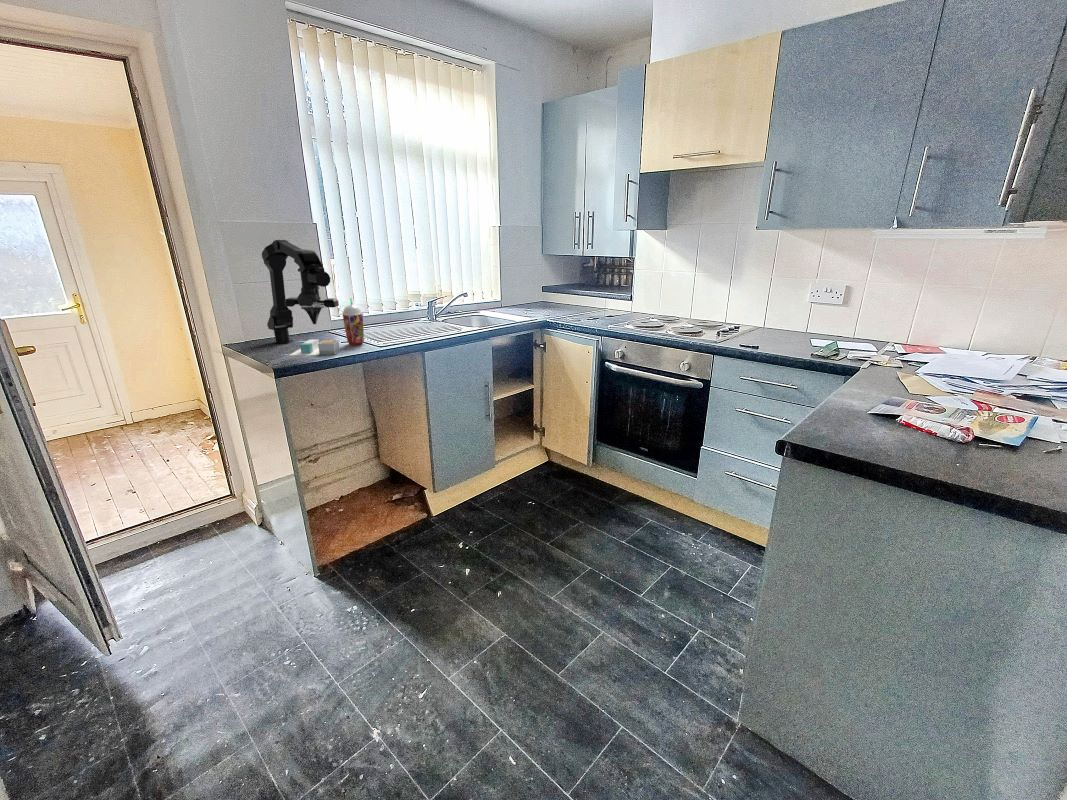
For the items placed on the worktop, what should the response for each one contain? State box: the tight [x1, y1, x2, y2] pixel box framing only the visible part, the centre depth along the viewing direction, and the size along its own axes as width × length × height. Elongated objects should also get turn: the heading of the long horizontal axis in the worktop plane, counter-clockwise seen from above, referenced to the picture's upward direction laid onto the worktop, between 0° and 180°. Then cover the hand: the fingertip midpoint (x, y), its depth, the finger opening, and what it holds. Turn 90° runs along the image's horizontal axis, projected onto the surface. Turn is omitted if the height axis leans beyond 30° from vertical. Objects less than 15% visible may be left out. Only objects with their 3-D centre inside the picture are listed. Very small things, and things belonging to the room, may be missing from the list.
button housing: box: [318, 340, 341, 356], centre depth 188 cm, size 6×6×4 cm
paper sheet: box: [289, 348, 320, 356], centre depth 191 cm, size 16×11×1 cm
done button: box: [320, 339, 335, 343], centre depth 187 cm, size 4×4×3 cm
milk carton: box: [299, 339, 320, 353], centre depth 191 cm, size 10×4×4 cm, turn 5°
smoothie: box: [342, 297, 365, 347], centre depth 201 cm, size 8×8×20 cm
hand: (314, 324), depth 186 cm, fingers closed
